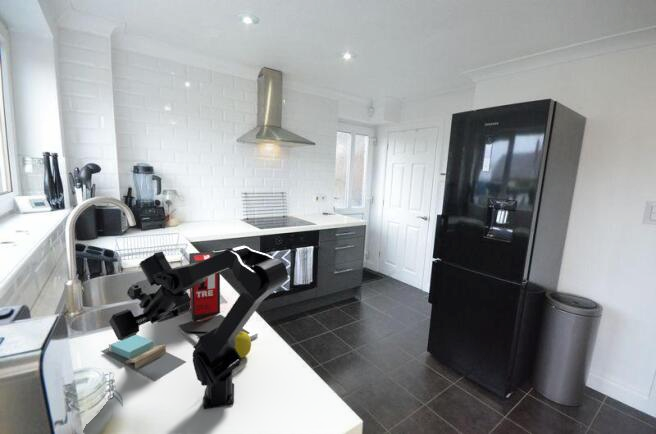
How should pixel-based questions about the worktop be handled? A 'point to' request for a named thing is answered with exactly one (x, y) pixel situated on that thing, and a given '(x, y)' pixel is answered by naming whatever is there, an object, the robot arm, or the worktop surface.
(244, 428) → the worktop surface
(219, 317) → the picture frame
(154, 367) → the mat
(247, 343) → the lemon
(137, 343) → the card deck
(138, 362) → the ramp
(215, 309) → the cleaning product box
